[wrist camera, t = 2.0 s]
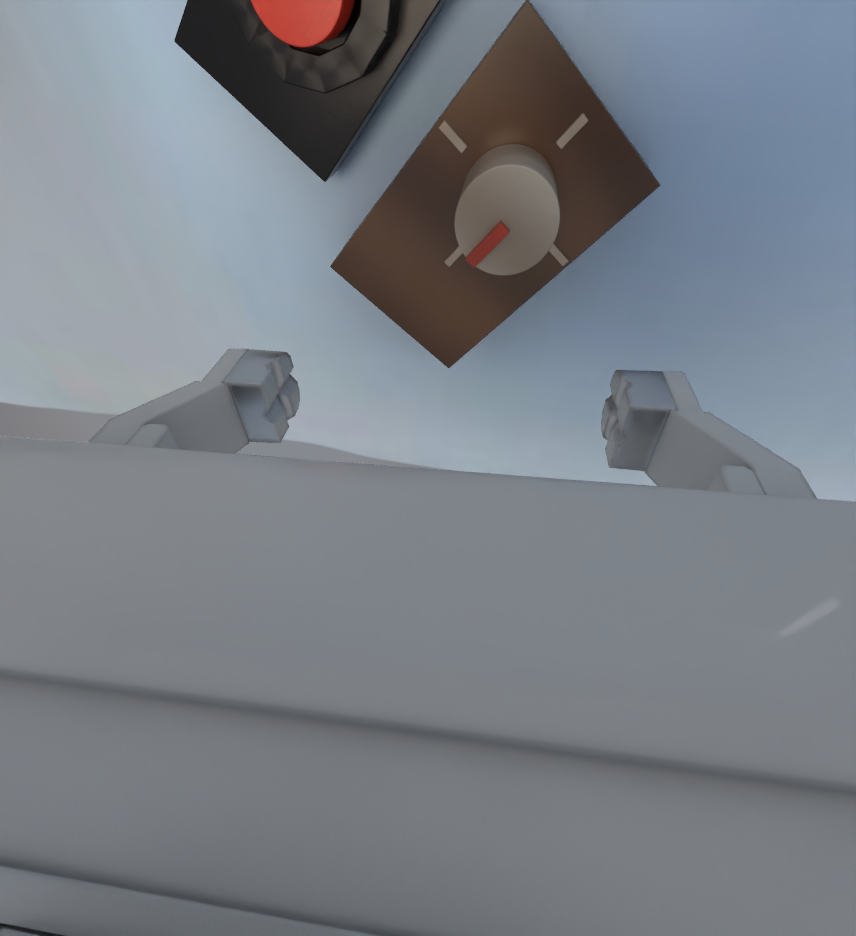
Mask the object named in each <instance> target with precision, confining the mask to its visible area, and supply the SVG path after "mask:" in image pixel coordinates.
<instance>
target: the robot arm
mask: <svg viewBox="0 0 856 936" xmlns="http://www.w3.org/2000/svg"><path fill="white" fill-rule="evenodd" d="M292 369H293V363H292V360H291V356H290V355H289V354H288V353H287V352H280V351H266V350H252V349H251V350H249V349H235V348H233V349H228V350H227V351H226V352H225V354H224V355H223V356H222V357H221V358H220V360H219V361H218V362H217V363H216V364H215V366H214V367H213V368H212V369H211V370H210V372H209V373H208V374H207V375H206V376H205V378H204V379H203V380H202V381H201V382H200V381H195V382H193V383H191V384H188V385H186V386H184V387H182V388H179V389H177V390H175V391H173V392H170V393H168V394H166V395H164V396H161V397H159V398H157V399H155V400H152V401H150V402H148V403H146V404H143V405H141V406H139V407H137V408H134V409H132V410H130V411H127V412H125V413H123V414H121V415H118V416H116V417H114V418H112V419H110V420H109V421H108V422H107V423H106V424H105V425H104V426H103V427H102V428H101V429H100V430H99V431H98V432H97V433H96V434H95V435H94V436H93V437H92V438H91V439H90V440H89V442H77V441H64V440H50V439H38V438H26V437H12V436H0V936H856V502H851V501H838V500H825V499H817V498H816V496H815V494H814V493H813V491H812V489H811V488H810V486H809V484H808V483H807V481H806V479H805V478H804V476H803V474H802V472H801V471H800V469H798V468H797V467H795V466H794V465H792V464H791V463H789V462H787V461H786V460H784V459H783V458H781V457H779V456H778V455H776V454H775V453H773V452H771V451H770V450H768V449H767V448H765V447H764V446H762V445H760V444H759V443H757V442H756V441H754V440H752V439H751V438H749V437H748V436H746V435H745V434H743V433H741V432H740V431H738V430H737V429H735V428H733V427H732V426H730V425H729V424H727V423H725V422H724V421H722V420H721V419H719V418H718V417H716V416H714V415H713V414H711V413H709V412H703V411H702V409H701V407H700V405H699V402H698V400H697V398H696V396H695V394H694V392H693V389H692V387H691V385H690V383H689V381H688V379H687V377H686V374H685V373H683V372H679V371H634V370H616V371H615V373H614V375H613V377H612V380H611V384H610V387H611V391H612V395H611V396H610V397H609V398H607V399H606V400H605V404H604V408H603V412H602V420H601V428H602V435H603V437H604V438H605V439H606V440H607V445H606V448H605V450H606V455H607V460H608V465H609V468H619V469H629V470H639V471H645V473H646V474H647V475H648V476H649V477H650V478H651V479H652V480H653V482H654V483H655V484H656V485H657V486H646V485H633V484H620V483H607V482H594V481H581V480H568V479H555V478H542V477H529V476H516V475H503V474H490V473H478V472H465V471H452V470H439V469H426V468H413V467H400V466H387V465H374V464H361V463H348V462H335V461H322V460H309V459H296V458H284V457H270V456H257V455H244V454H235V453H236V452H238V451H239V450H241V449H242V448H243V447H244V446H246V445H247V444H249V442H267V443H281V441H282V439H283V437H284V435H285V433H286V431H287V429H288V428H289V425H288V421H287V420H289V419H290V418H292V417H294V416H295V414H296V412H297V410H298V407H299V401H300V393H299V387H298V382H297V381H296V380H295V379H294V378H293V377H292V376H291V375H290V373H291V371H292Z"/></svg>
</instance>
